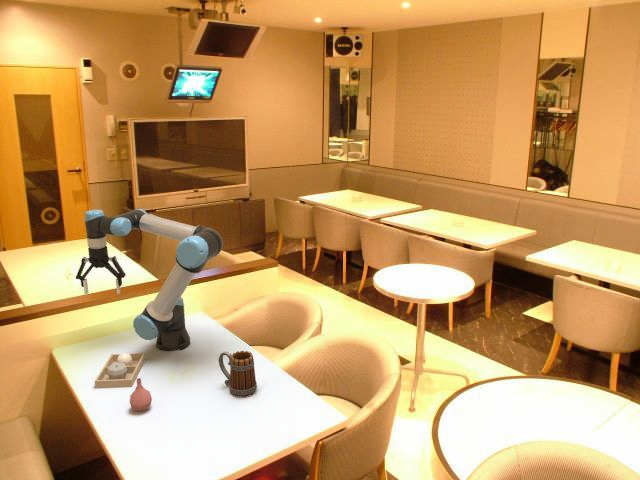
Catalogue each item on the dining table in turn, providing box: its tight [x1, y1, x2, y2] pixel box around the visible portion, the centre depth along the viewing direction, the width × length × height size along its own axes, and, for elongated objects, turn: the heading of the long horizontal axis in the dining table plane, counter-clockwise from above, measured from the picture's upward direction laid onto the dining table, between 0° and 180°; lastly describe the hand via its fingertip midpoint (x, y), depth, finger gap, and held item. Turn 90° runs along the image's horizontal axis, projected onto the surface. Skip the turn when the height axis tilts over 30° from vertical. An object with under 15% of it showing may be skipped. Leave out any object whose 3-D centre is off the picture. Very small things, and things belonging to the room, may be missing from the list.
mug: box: [218, 350, 258, 398], centre depth 210 cm, size 16×11×15 cm
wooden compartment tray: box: [94, 352, 147, 389], centre depth 223 cm, size 14×22×4 cm, turn 4°
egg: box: [117, 352, 132, 366], centre depth 227 cm, size 6×6×6 cm
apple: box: [107, 362, 127, 380], centre depth 217 cm, size 8×8×7 cm
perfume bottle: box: [129, 377, 153, 412], centre depth 198 cm, size 8×8×12 cm
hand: (102, 293), depth 238 cm, fingers open, 13 cm apart
